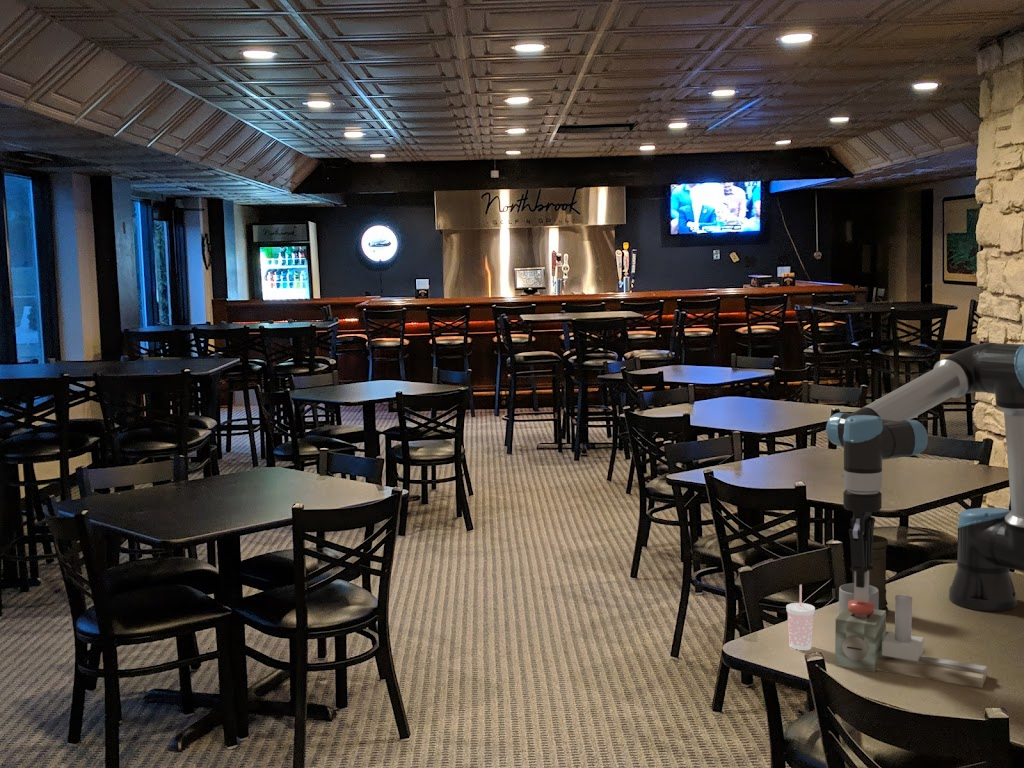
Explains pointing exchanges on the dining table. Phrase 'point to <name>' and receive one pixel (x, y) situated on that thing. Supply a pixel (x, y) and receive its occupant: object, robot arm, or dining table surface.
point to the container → (878, 569)
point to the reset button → (861, 608)
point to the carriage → (903, 633)
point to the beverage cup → (800, 624)
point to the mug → (848, 594)
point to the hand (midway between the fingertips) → (861, 600)
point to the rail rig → (864, 652)
